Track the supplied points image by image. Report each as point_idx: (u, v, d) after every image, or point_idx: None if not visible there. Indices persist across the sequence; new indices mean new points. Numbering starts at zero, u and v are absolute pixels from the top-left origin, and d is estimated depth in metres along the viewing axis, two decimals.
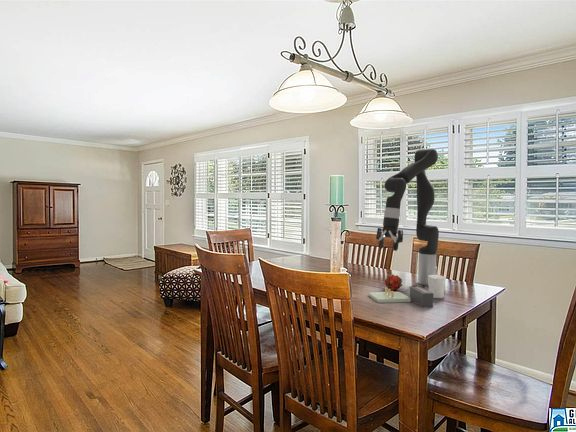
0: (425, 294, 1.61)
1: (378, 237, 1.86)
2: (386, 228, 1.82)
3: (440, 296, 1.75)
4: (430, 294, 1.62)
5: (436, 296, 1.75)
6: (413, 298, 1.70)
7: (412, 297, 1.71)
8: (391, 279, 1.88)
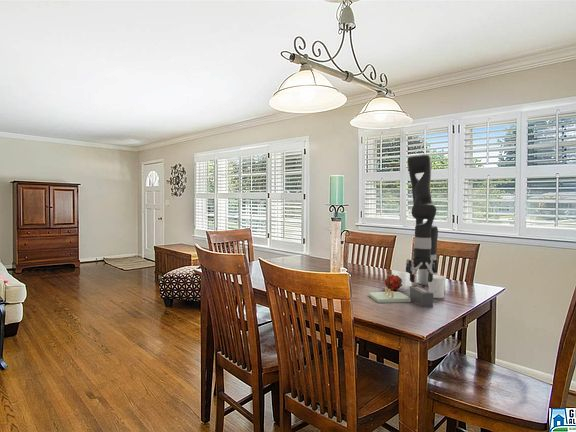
0: (425, 294, 1.61)
1: None
2: (420, 260, 1.65)
3: (440, 296, 1.75)
4: (430, 294, 1.62)
5: (436, 296, 1.75)
6: (413, 298, 1.70)
7: (412, 297, 1.71)
8: (391, 279, 1.88)
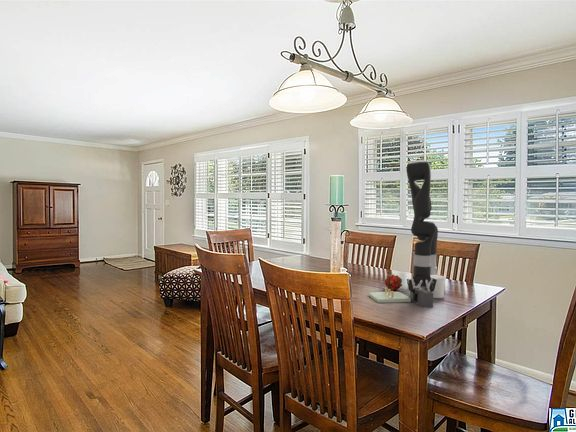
0: (425, 294, 1.61)
1: (413, 289, 1.66)
2: (420, 277, 1.66)
3: (440, 296, 1.75)
4: (430, 294, 1.62)
5: (436, 296, 1.75)
6: None
7: (412, 297, 1.71)
8: (391, 279, 1.88)
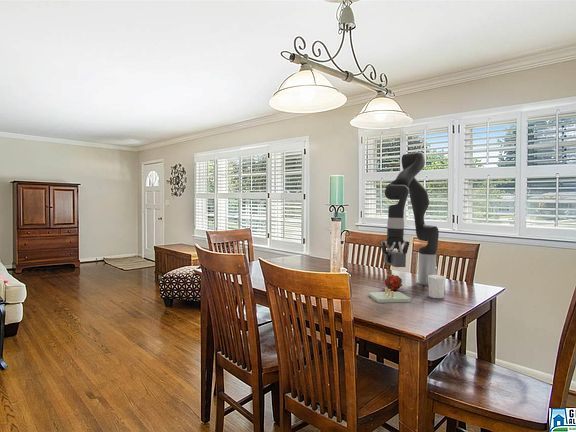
0: (398, 255, 1.65)
1: (386, 251, 1.70)
2: (393, 239, 1.70)
3: (440, 296, 1.75)
4: (402, 255, 1.66)
5: (436, 296, 1.75)
6: None
7: None
8: (391, 279, 1.88)
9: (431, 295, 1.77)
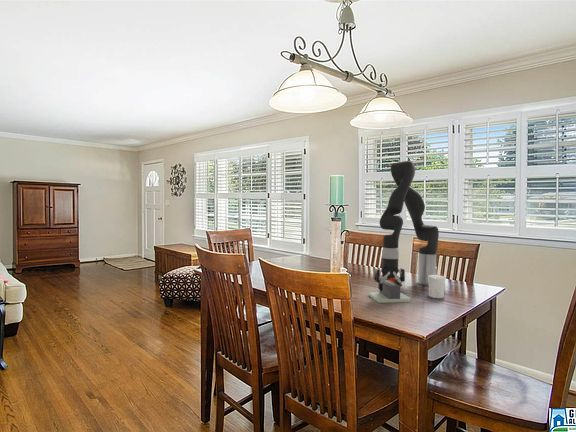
0: (392, 287, 1.67)
1: (378, 280, 1.72)
2: (388, 269, 1.72)
3: (440, 296, 1.75)
4: (397, 287, 1.68)
5: (436, 296, 1.75)
6: (382, 291, 1.76)
7: None
8: (391, 279, 1.88)
9: (431, 295, 1.77)
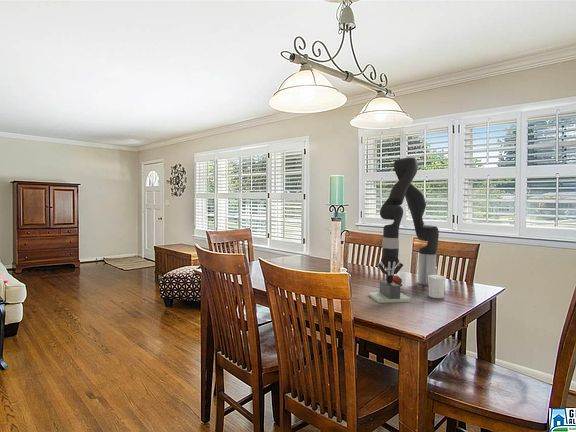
0: (392, 287, 1.67)
1: (385, 271, 1.72)
2: (388, 259, 1.72)
3: (440, 296, 1.75)
4: (397, 287, 1.68)
5: (436, 296, 1.75)
6: (382, 291, 1.76)
7: (381, 290, 1.77)
8: None
9: (431, 295, 1.77)
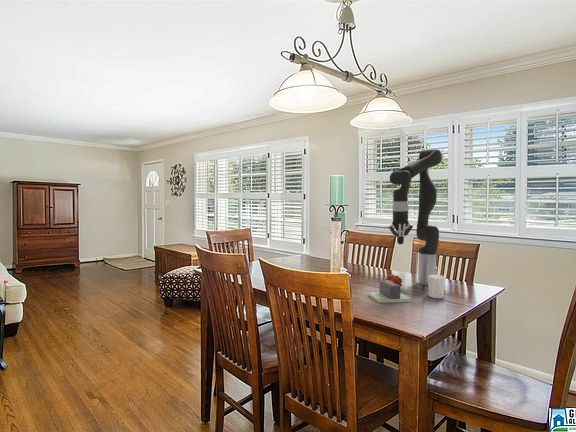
0: (392, 287, 1.67)
1: (396, 233, 1.84)
2: (398, 221, 1.83)
3: (440, 296, 1.75)
4: (397, 287, 1.68)
5: (436, 296, 1.75)
6: (382, 291, 1.76)
7: (381, 290, 1.77)
8: (391, 279, 1.88)
9: (431, 295, 1.77)
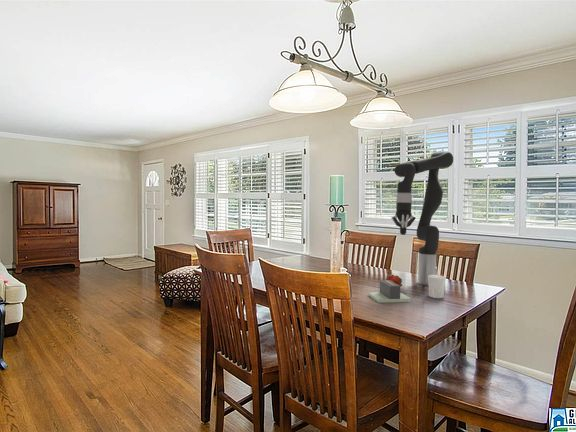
0: (392, 287, 1.67)
1: (399, 223, 1.89)
2: (401, 212, 1.88)
3: (440, 296, 1.75)
4: (397, 287, 1.68)
5: (436, 296, 1.75)
6: (382, 291, 1.76)
7: (381, 290, 1.77)
8: (391, 279, 1.88)
9: (431, 295, 1.77)
